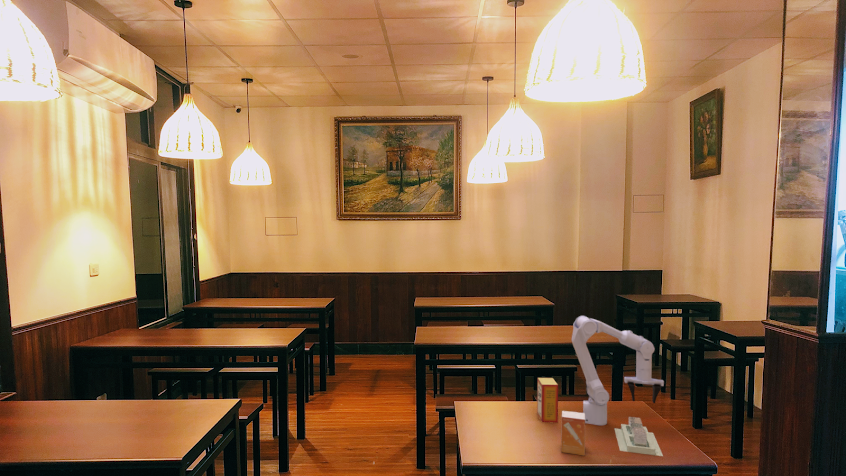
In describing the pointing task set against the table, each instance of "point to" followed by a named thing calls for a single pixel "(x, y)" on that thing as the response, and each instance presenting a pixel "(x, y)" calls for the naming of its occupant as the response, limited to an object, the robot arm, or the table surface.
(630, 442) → the cream stepped base
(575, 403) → the table surface
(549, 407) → the baking soda box
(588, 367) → the robot arm
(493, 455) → the table surface
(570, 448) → the small box
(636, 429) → the block
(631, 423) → the block
